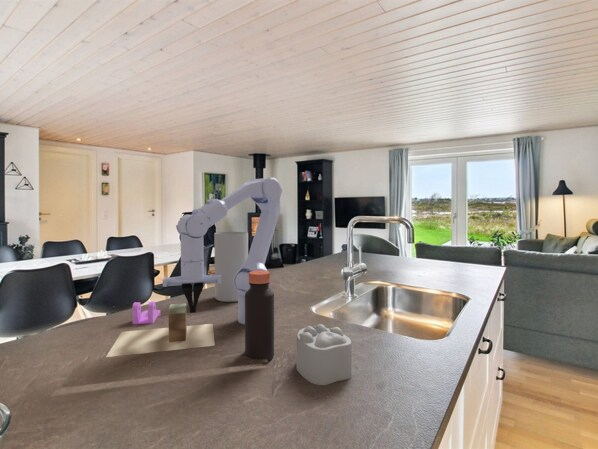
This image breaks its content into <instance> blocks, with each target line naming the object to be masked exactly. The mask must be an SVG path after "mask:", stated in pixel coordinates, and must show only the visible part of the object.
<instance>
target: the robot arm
mask: <svg viewBox="0 0 598 449" xmlns="http://www.w3.org/2000/svg"><path fill="white" fill-rule="evenodd" d="M282 193H283V188H282V186H281V184H280V182H279V180H278V179H277V178H276V177H273V176H270V177H267V178H264V177H262V178H251V179H250V180H249V181H246V182H244V183H243V184H242V185H241V186H239V187H237V188H236V189H235V190H233V191H231V192H230V193H229V194H227V195H226V196H225V197H223V198H222V199H217V198H215V199H213V198H210V199H207V200H206V201H205V204H204V205H202V206H200V207H199V208H194V209H192V210H191V212H192V213H191V214H184V215H182V216H181V217H180V218H179V220H178V222H177V224H176V225H175V227H176V230H177V233H178V234H179V236H180V276H172V277H163V279H162V287H163V288H165V287H172V286H176V287H177V286H181V291H182V292H183V294H184V297H185V299H186V301H187V304H188V308H189V313H190V314H195V313H196V312H197V307H198V306H197V305H198V302H199V299H200V296H201V293H202V292H203V289H204V285H207V284H215V283H217V284H221V275H215V274H205V262H204V261H205V257H204V256H205V255H204V246H205V244H204V236H205V235H206V234H207V232H208V230H209V228H211V227H213V225H215V224H217V223H218V222H220V221H222V220H223V219H224V218H226V217H227V216H228V215H227V214H228V211H229V210H230V209H232V208H234V207H235V206H237V205H239V204H240V203H242V202H245V200H247V199H249V198H251V200H252V201H253V202H254V203H255V204H256V205H257V206H258V208H259V209H260V212H261V213H260V215H259V218H258V222H257V226H256V229H255V233H254V234H253V239H252V242H251V244H250V248H249V250H248V258H247V260H246V261H245V262H244V263H243V264H242V265H241V266H240V269H239V271H238V272H237V273H236V275H235V276H234V280H233V283H234V286H235V288H236V289H237V292H238V301H237V302H238V303H237V307H238V312H237V313H238V314H237V315H238V316H237V317H238V319H237V320H238V321H237V322H238V323H239V324H241V325H245V293H246V292H247V291H248V290H249V289H250V285H249V272H251V271H268V269H267V267H266V265H265V264H266V261H267V257H268V254H269V251H270V247H271V243H272V241H273V240H272V239H273V237H274V233H275V230H276V227H277V222H278V219H279V217H280V213H281V196H282Z"/></svg>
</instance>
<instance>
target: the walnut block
mask: <svg viewBox="0 0 598 449" xmlns="http://www.w3.org/2000/svg"><path fill="white" fill-rule="evenodd" d="M187 320H188V319H187V303H185V302H183V303H173V304H170V305H169V308H168V328H169V342H178V341H186V334H187V326H188V325H187V324H188V322H187Z"/></svg>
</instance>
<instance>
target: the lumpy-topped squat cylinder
mask: <svg viewBox="0 0 598 449" xmlns="http://www.w3.org/2000/svg"><path fill="white" fill-rule="evenodd" d="M352 344H353V342H352V339H351V338H350V337H348V336H347V335H345V333H343V330H342V329H341V328H340V327H339V326H333V327H329V328H328V327H326V326H325V325H324V324H322V323H319V324H317V325H312V326H311V325H307V326H305V327H303V328H301V329H299V331H298V332H297V335H296V371H297V372H298V373H299V374H300V375H301V376H302V377H303V378H304V379H306V381H308V382H309V383H312V384H314V385H316V386H327V385H331V384H333V383H335V382H340V381H346V380H348V379H351V377H352V364H353V363H352V360H353V359H352V358H353V357H352V356H353V355H352V354H353V352H352V351H353V350H352V349H353V348H352V347H353V345H352Z"/></svg>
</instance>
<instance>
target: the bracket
mask: <svg viewBox="0 0 598 449" xmlns="http://www.w3.org/2000/svg"><path fill="white" fill-rule="evenodd" d="M156 308H157V306H156V302H155V301H149V302H148V304H147V309H146V310H144V311H142V304H141V302H140V301H139V302H138V301H137V302H135V301H134V302H133V304H132V308H131V310H132V311H131V312H132V316H131V319H132V325H143V324H154V323H155V321H156V319H157V318H158V317H159V316H161V310H160V309H156Z"/></svg>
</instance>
